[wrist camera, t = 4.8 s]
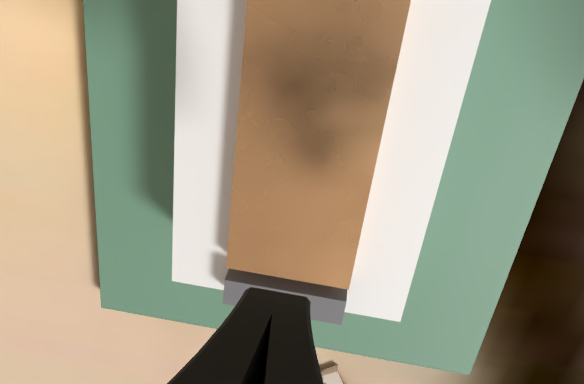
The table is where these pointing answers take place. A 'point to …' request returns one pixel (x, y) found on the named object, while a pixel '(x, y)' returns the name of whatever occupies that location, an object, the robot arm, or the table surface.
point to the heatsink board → (460, 209)
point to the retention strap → (310, 133)
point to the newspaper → (331, 375)
